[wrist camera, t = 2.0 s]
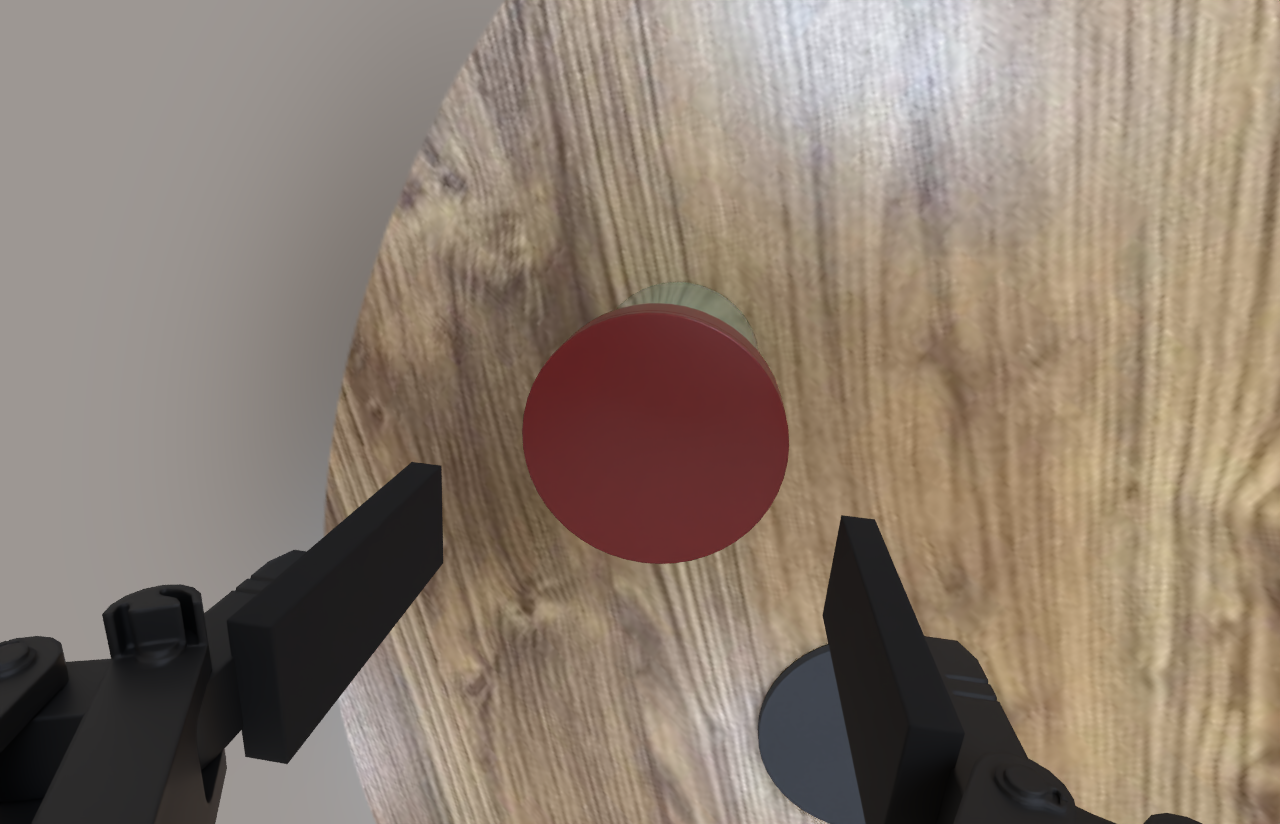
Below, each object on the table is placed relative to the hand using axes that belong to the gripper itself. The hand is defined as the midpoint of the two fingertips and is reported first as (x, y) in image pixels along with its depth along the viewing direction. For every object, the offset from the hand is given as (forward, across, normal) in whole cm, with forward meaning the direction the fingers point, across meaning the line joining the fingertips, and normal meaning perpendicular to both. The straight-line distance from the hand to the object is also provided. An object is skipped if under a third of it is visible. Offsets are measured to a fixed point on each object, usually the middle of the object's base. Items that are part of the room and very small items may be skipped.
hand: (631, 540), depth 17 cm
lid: (+7, 0, 0) cm, 7 cm away
